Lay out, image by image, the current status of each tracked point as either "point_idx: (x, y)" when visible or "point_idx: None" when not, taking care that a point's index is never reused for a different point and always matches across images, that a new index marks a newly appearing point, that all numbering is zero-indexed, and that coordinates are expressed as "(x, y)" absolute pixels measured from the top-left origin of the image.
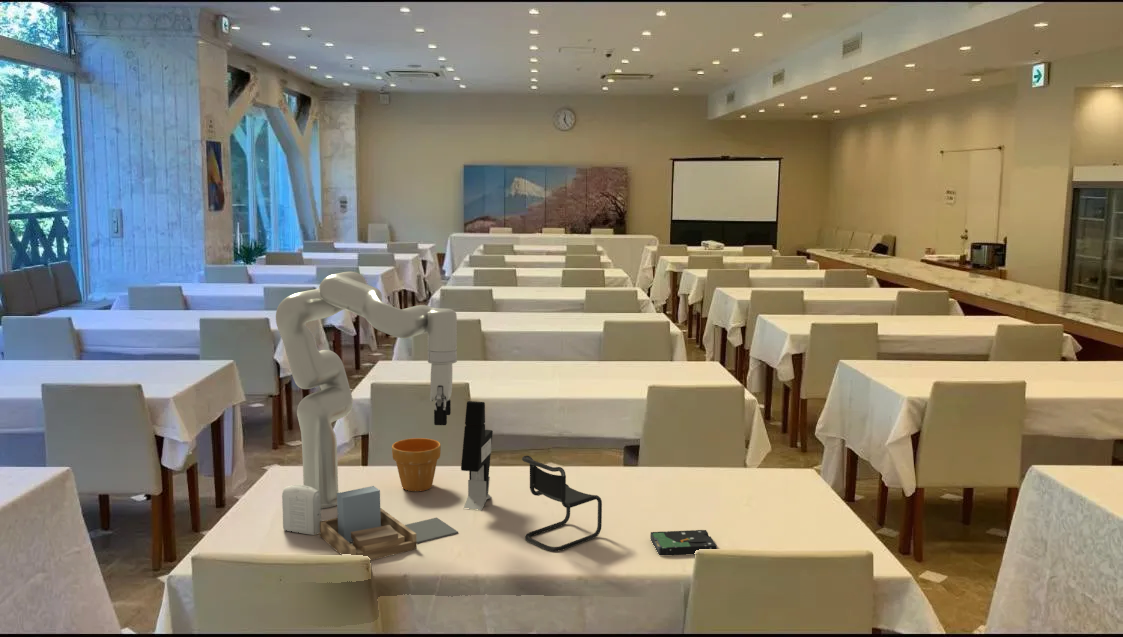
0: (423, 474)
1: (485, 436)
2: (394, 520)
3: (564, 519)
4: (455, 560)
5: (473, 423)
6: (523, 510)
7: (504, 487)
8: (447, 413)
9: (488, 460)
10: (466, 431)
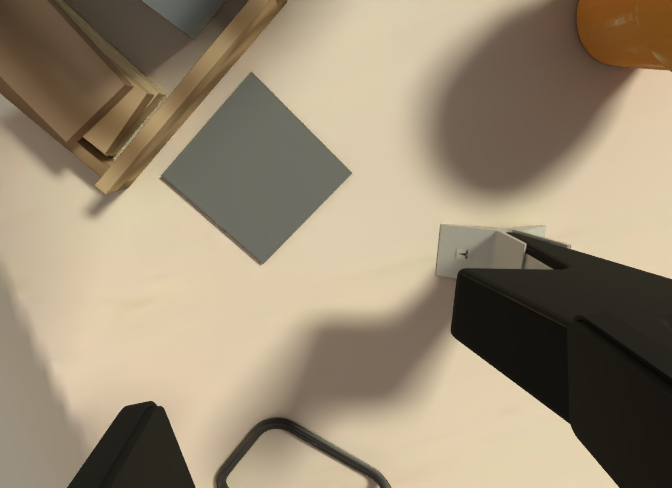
0: (618, 39)
1: None
2: (184, 82)
3: (379, 481)
4: (97, 304)
5: None
6: (449, 373)
7: None
8: (577, 419)
9: None
10: None
